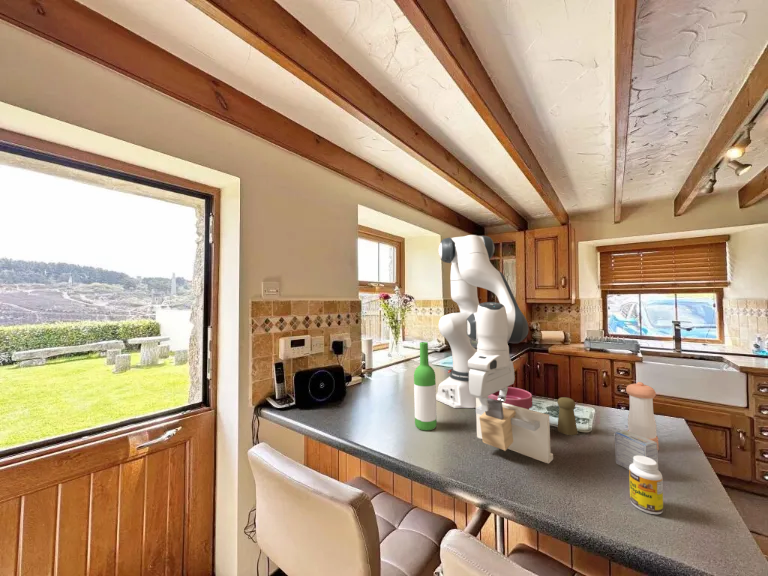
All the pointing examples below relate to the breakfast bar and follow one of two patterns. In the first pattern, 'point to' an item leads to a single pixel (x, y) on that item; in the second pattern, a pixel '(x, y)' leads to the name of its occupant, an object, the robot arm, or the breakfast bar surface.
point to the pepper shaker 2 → (642, 411)
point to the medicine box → (633, 448)
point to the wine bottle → (425, 392)
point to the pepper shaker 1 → (566, 416)
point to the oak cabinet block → (497, 425)
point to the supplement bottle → (646, 485)
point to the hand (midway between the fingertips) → (494, 405)
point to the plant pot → (516, 397)
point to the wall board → (526, 432)
